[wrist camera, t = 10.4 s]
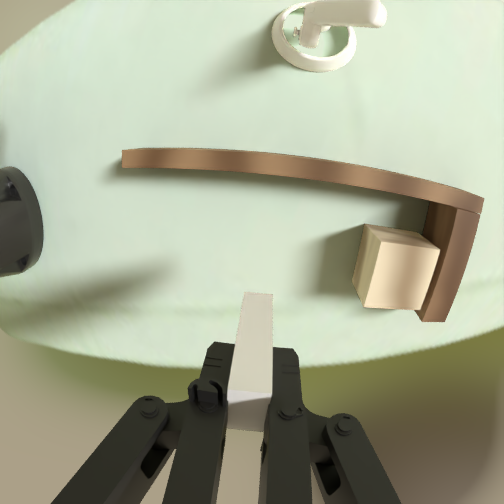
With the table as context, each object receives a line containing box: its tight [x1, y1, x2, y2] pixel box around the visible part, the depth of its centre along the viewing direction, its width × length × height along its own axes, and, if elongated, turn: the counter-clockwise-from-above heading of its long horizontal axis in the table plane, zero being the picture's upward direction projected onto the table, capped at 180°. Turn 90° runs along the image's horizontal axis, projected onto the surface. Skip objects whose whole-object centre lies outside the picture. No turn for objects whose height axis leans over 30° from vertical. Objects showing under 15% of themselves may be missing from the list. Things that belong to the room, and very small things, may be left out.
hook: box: [271, 0, 387, 72], centre depth 16 cm, size 8×12×7 cm
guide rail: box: [122, 148, 484, 322], centre depth 23 cm, size 32×12×5 cm, turn 85°
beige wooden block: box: [352, 224, 440, 310], centre depth 24 cm, size 6×6×5 cm
